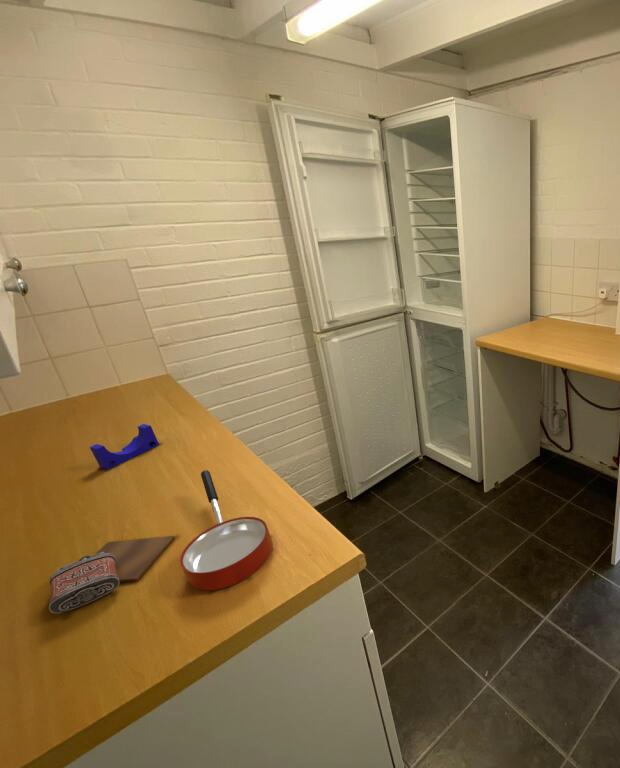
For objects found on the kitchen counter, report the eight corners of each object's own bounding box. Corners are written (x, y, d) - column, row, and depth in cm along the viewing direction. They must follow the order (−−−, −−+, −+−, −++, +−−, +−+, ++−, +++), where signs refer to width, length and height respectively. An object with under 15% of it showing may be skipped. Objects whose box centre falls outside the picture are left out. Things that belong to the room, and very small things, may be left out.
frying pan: (163, 514, 87) (151, 490, 84) (233, 485, 95) (224, 462, 93) (198, 606, 66) (184, 578, 64) (284, 558, 75) (274, 531, 72)
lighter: (122, 588, 70) (117, 556, 76) (115, 572, 69) (110, 541, 75) (53, 618, 65) (53, 581, 71) (45, 601, 63) (46, 565, 70)
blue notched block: (148, 442, 115) (140, 423, 113) (159, 444, 114) (150, 425, 111) (96, 466, 105) (85, 446, 102) (107, 469, 103) (96, 449, 101)
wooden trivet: (62, 588, 71) (61, 586, 70) (109, 544, 80) (107, 542, 79) (138, 580, 72) (136, 578, 71) (175, 538, 81) (174, 535, 80)
